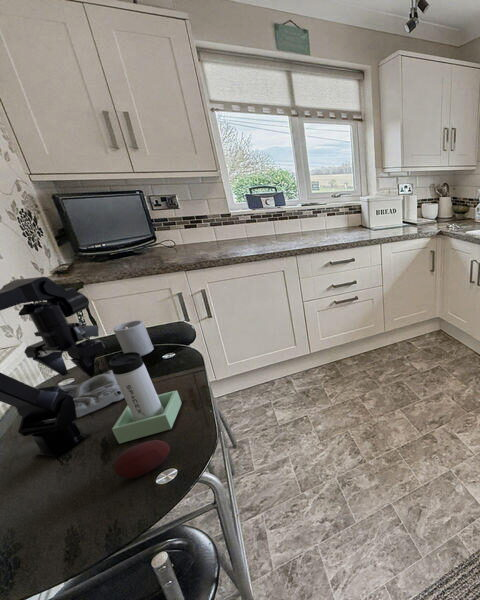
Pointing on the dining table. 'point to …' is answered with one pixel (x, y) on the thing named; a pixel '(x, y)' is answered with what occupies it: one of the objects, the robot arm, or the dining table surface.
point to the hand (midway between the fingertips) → (78, 375)
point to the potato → (141, 459)
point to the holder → (148, 420)
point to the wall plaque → (94, 393)
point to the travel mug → (136, 385)
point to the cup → (134, 337)
